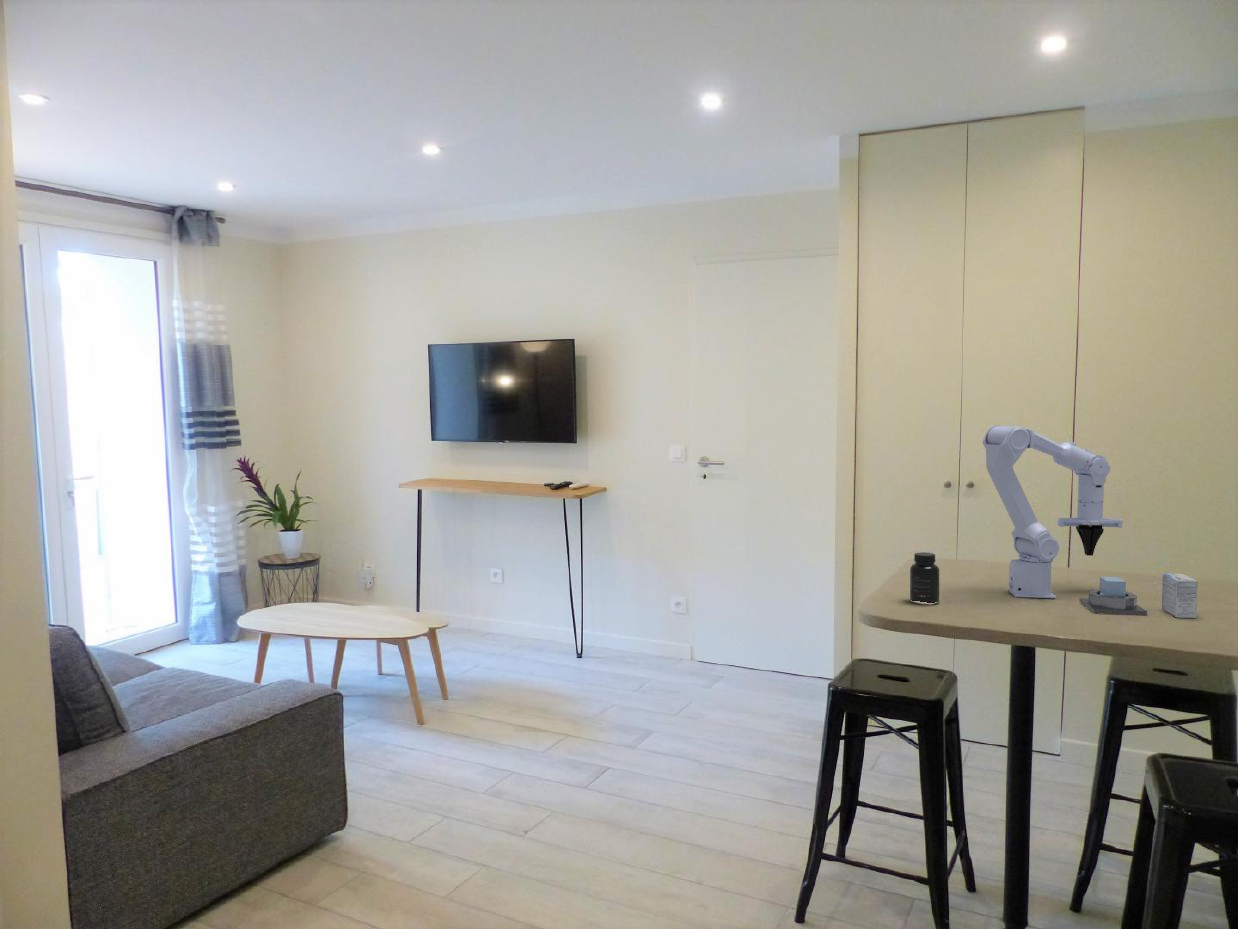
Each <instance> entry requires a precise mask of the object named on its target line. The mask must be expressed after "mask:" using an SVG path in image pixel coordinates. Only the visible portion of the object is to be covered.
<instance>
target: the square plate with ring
mask: <svg viewBox="0 0 1238 929" xmlns="http://www.w3.org/2000/svg"><path fill="white" fill-rule="evenodd" d="M1099 590H1100V588H1098V589H1092V590H1089V591H1088V597H1087V598H1086V597H1085V598H1084V597H1079V599H1078V600H1079V601H1080V602H1081V603H1082V604H1083V605H1082V604H1081V603H1080V602H1079V603H1080V604H1081V605H1082V606H1084V607H1085V608H1086V607H1087V608H1086V609H1088V610H1089V611H1090V612H1091V613H1093V614H1094V613H1099V614H1100V613H1104V614H1103V615H1122V614H1126V615H1125V616H1147V615H1148V610H1146V609H1145V608H1143V607H1141V606H1140V605H1138V604H1137V602H1138V601H1137V600H1138V595H1136V594H1135V593H1133V592H1129V591H1126V596H1125V597H1109V596H1103V595H1100V591H1099ZM1100 615H1101V614H1100Z"/></svg>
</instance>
